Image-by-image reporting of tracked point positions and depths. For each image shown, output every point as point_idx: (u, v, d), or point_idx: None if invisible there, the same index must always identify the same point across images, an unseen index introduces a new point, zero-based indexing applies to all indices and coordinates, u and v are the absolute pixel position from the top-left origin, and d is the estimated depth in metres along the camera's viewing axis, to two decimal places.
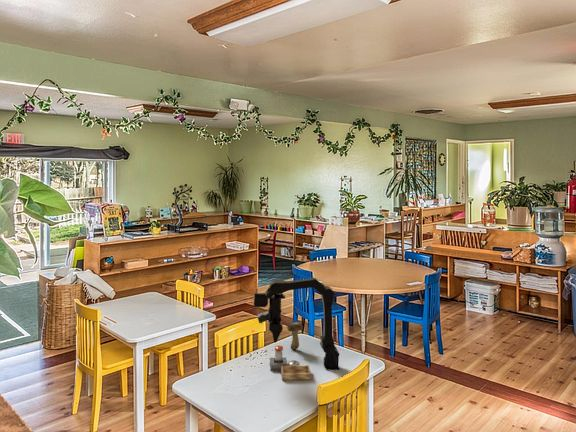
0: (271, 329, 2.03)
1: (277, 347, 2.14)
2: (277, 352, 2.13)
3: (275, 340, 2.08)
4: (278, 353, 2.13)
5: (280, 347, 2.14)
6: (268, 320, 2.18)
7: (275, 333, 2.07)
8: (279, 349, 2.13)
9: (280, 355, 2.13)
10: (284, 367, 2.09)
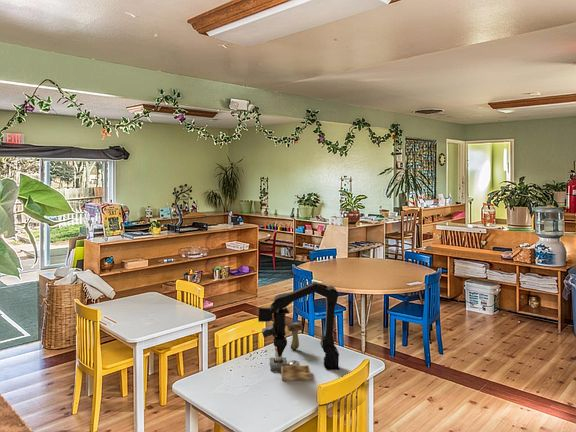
0: (276, 344, 2.05)
1: None
2: (277, 352, 2.13)
3: (279, 354, 2.10)
4: None
5: None
6: None
7: (279, 348, 2.08)
8: None
9: None
10: (284, 367, 2.09)
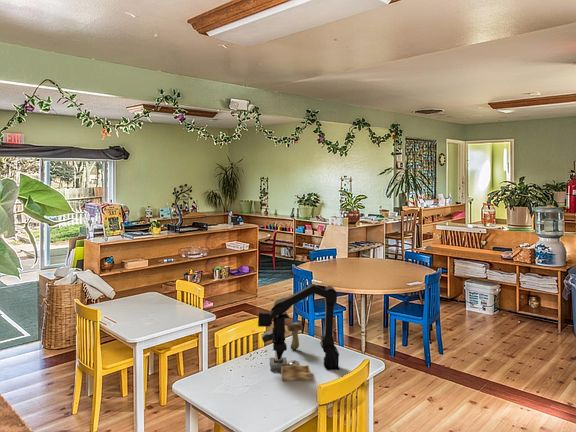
0: (275, 349, 2.05)
1: None
2: None
3: (279, 357, 2.12)
4: None
5: None
6: (272, 341, 2.18)
7: (279, 350, 2.11)
8: None
9: None
10: (284, 367, 2.09)
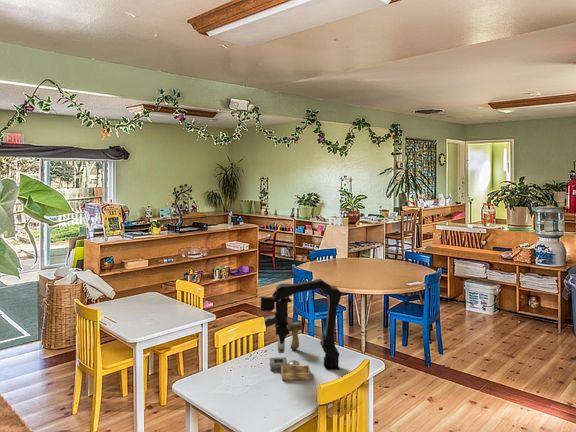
0: (278, 333, 2.03)
1: None
2: None
3: (281, 342, 2.11)
4: None
5: None
6: (275, 325, 2.16)
7: (281, 335, 2.10)
8: None
9: None
10: (284, 367, 2.09)
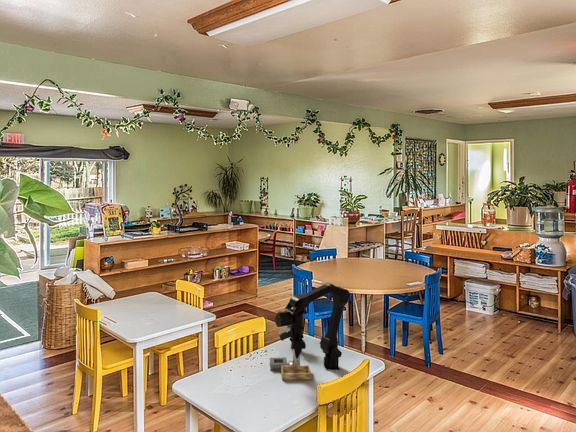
0: (294, 347, 1.95)
1: None
2: None
3: (297, 356, 2.03)
4: None
5: None
6: None
7: (297, 349, 2.02)
8: None
9: None
10: (284, 367, 2.09)
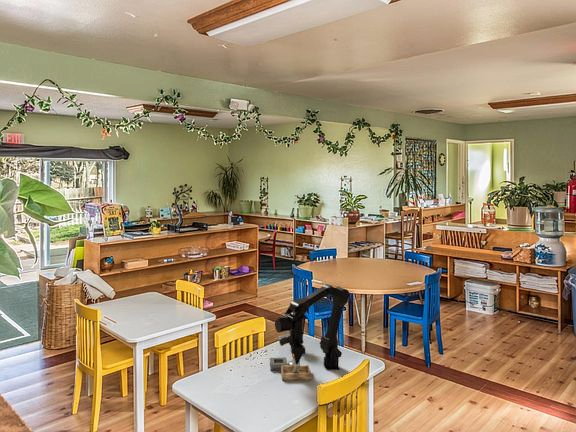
0: (294, 352, 1.95)
1: None
2: None
3: (297, 362, 2.02)
4: None
5: None
6: (289, 343, 2.09)
7: (297, 355, 2.01)
8: None
9: None
10: (284, 367, 2.09)
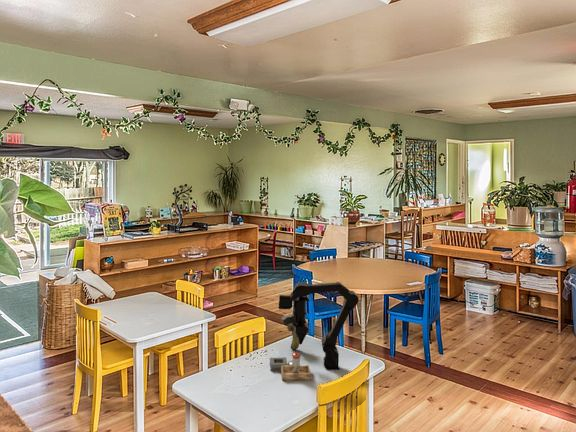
0: (297, 331, 2.05)
1: (294, 354, 2.05)
2: (294, 359, 2.04)
3: (300, 342, 2.10)
4: (296, 360, 2.04)
5: (297, 354, 2.05)
6: (292, 322, 2.21)
7: (301, 335, 2.09)
8: (297, 356, 2.03)
9: (298, 362, 2.04)
10: (284, 367, 2.09)
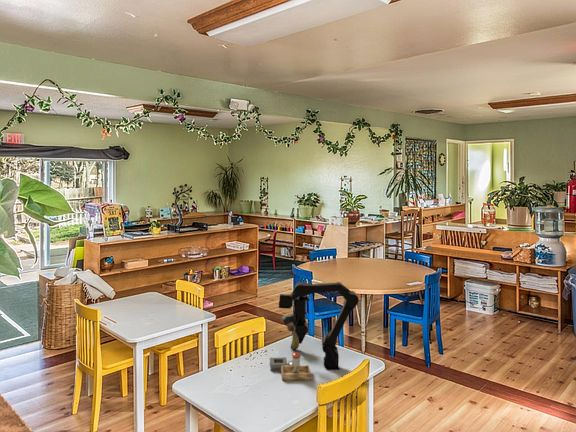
0: (297, 331, 2.06)
1: (294, 354, 2.05)
2: (294, 359, 2.04)
3: (300, 341, 2.11)
4: (296, 360, 2.04)
5: (297, 354, 2.05)
6: (292, 322, 2.21)
7: (300, 334, 2.10)
8: (297, 356, 2.03)
9: (298, 362, 2.04)
10: (284, 367, 2.09)
